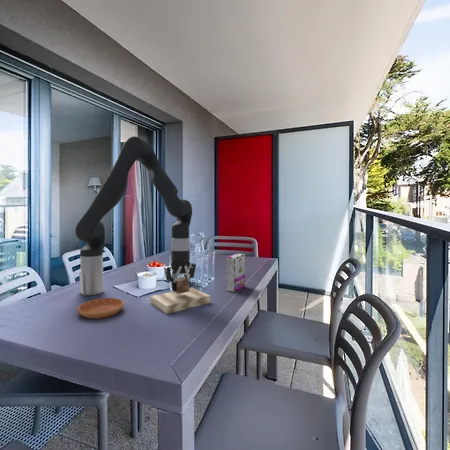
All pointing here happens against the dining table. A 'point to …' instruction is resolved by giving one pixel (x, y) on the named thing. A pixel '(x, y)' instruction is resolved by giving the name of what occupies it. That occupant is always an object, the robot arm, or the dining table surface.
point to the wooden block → (179, 300)
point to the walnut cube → (182, 285)
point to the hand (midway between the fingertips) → (180, 289)
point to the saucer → (100, 308)
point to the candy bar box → (235, 272)
